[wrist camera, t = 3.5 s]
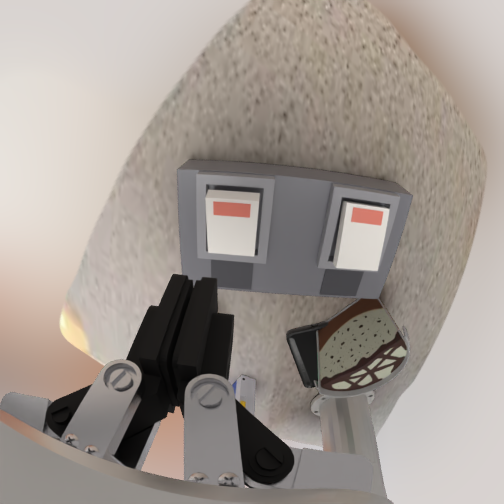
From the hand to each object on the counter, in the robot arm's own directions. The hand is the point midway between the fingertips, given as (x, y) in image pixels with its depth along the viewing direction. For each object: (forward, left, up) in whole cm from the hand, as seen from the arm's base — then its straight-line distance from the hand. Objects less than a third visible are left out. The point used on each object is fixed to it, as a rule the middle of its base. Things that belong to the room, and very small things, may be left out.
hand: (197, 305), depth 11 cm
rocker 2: (-2, -11, -13) cm, 17 cm away
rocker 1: (-2, 0, -13) cm, 13 cm away
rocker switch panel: (-4, -6, -18) cm, 20 cm away
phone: (-25, -14, -19) cm, 34 cm away
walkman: (-35, -2, -19) cm, 40 cm away
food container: (-17, -17, -19) cm, 30 cm away
